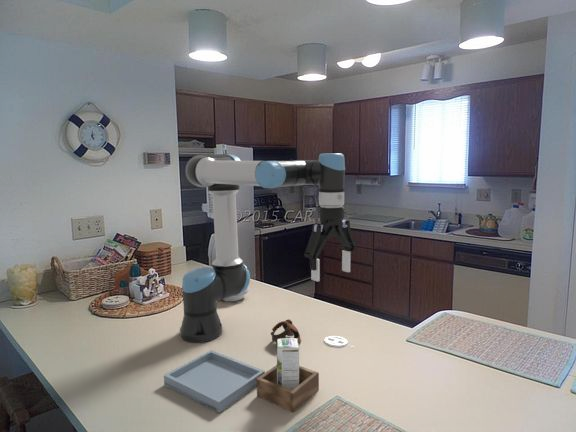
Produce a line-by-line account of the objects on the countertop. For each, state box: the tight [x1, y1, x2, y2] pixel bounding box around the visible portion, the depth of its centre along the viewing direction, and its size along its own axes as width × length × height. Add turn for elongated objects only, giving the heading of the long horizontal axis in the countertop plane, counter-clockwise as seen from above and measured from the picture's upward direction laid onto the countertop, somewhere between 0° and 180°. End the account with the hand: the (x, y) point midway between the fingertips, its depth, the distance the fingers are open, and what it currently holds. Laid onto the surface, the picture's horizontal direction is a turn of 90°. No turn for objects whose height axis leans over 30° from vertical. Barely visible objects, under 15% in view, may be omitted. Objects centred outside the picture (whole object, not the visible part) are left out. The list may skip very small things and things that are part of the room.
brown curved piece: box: [270, 318, 302, 345], centre depth 140 cm, size 12×10×8 cm
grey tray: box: [163, 349, 266, 414], centre depth 114 cm, size 22×18×3 cm
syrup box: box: [276, 337, 300, 390], centre depth 108 cm, size 6×6×14 cm
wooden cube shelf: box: [256, 364, 320, 413], centre depth 109 cm, size 12×12×5 cm
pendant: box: [323, 335, 355, 348], centre depth 138 cm, size 7×11×1 cm, turn 56°
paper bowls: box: [222, 284, 250, 302], centre depth 183 cm, size 15×15×8 cm
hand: (331, 275), depth 122 cm, fingers open, 13 cm apart
